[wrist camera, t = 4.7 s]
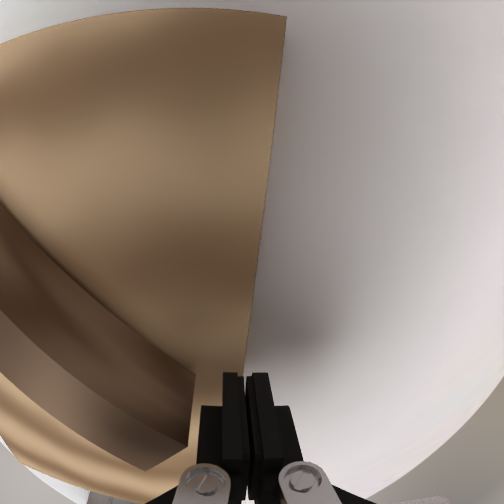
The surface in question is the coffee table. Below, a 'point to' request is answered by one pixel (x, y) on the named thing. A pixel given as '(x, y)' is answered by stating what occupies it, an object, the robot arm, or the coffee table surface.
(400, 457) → the coffee table surface
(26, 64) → the stool top
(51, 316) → the folding leg
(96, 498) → the coffee box
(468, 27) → the coffee table surface
